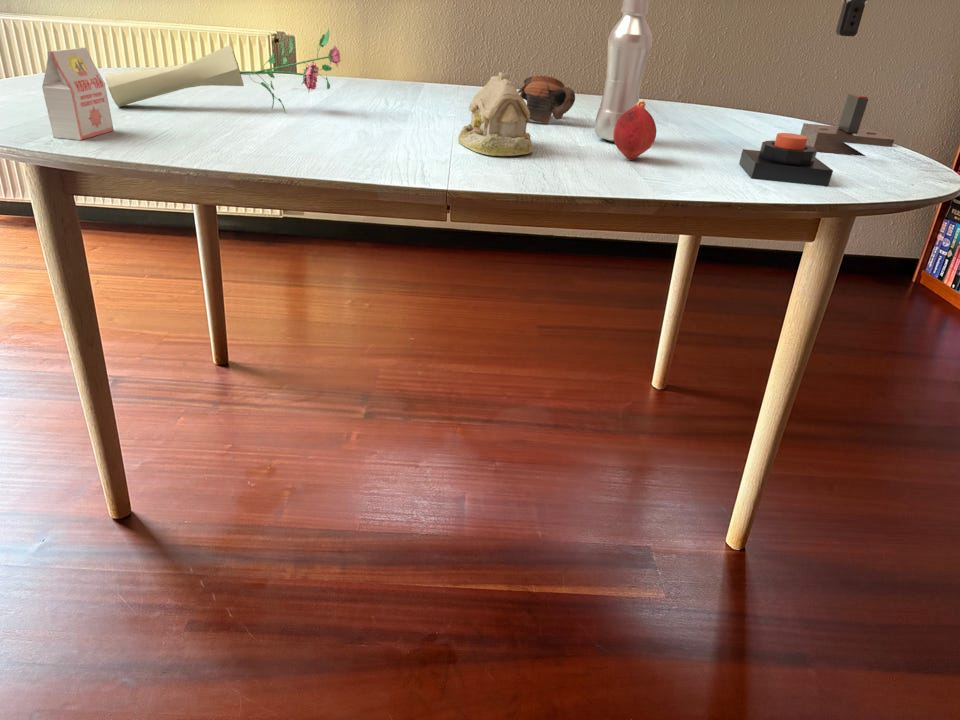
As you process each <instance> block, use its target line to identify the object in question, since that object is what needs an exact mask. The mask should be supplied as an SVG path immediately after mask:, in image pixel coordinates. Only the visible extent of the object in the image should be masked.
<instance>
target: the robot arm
mask: <svg viewBox="0 0 960 720" xmlns="http://www.w3.org/2000/svg"><path fill="white" fill-rule="evenodd" d="M869 1H870V0H841V3H842V8H841V11H840V15H839V18H838V22H837V25H836V29H835V35H837V36H841V37H855V36H857V34H858V31H859V27H860V25H861V20H862V17H863V14H864V10H865V6H866V4H868V3H869Z"/></svg>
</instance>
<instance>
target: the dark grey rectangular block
mask: <svg viewBox="0 0 960 720" xmlns="http://www.w3.org/2000/svg"><path fill="white" fill-rule="evenodd" d="M868 102H869V96H867V95H860V94H855V93H848V94H847V97H846V100H845V103H844V106H843V110H842V114H841V117H840V120H839V122H838V123H839V124H838V125H839V126H838V125H837V126H838V128H839V129H841V130H843V131H845V132H847V133H853V134H857V133H858V130H859V129H860V127H861V123H862V121H863V117H864V114H865V112H866V108H867V105H868Z"/></svg>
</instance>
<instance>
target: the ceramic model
mask: <svg viewBox="0 0 960 720" xmlns="http://www.w3.org/2000/svg"><path fill="white" fill-rule="evenodd" d="M468 111H469V112H471V114H470V115H471V117H470V123H469V124H467V125H463V127H462V129H461V131H460V133H459V135H458V137H457V139H458V144H460V145H462V146H463V147H465V148H467V149H469V150H470V151H472V152H476V153H478V154H482V155H487V156H494V157H495V156H499V157H501V156H503V157H504V156H506V157H507V156H523V155H528V154H530V153H532V152H534V145H533V143H532V139H531V134H530V132H527V125H528V124H529V123H530V122H531V120H529V118H530V112H529V109H528V107H527V102H526V100H525V99H523V98H522V97H521V96H520V93H518V89H517V88H516V86H515V85H514V82H512V81H511V80H510V78H509V73H508V72H506V71H499V73H498V75H493V76H491V78H489V80H488V82H487V83H486V84H485V85H484V86H483V87H482V88H481V89H480V90H478V92H477V93H476V94H475V95H474V97H473V99H472V100H471V101H470V103H469V106H468Z"/></svg>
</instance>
